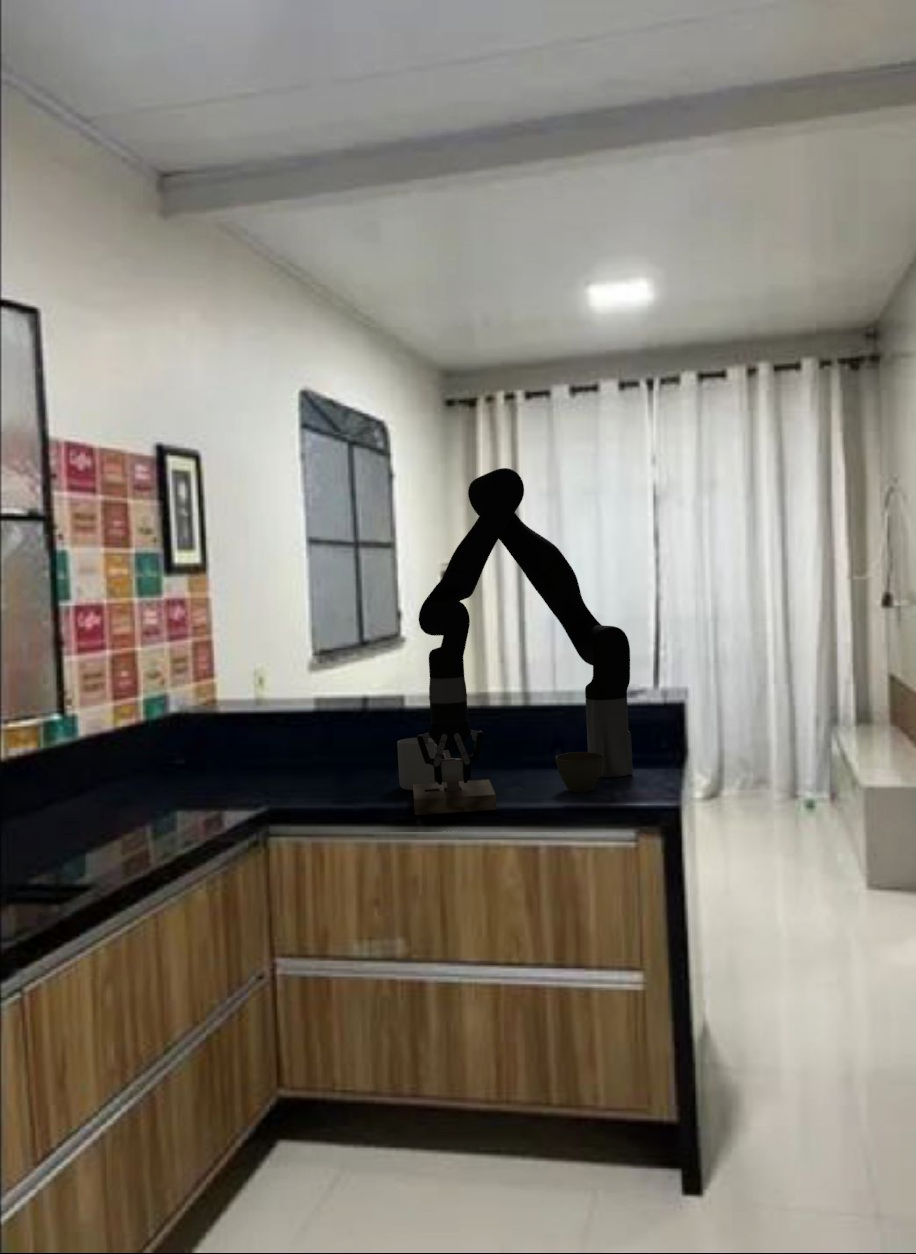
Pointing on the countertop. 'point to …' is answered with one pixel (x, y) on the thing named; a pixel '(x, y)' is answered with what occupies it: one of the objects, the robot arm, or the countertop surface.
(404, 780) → the mug
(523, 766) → the countertop surface
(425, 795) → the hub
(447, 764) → the knob
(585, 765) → the yellowish brown bowl
